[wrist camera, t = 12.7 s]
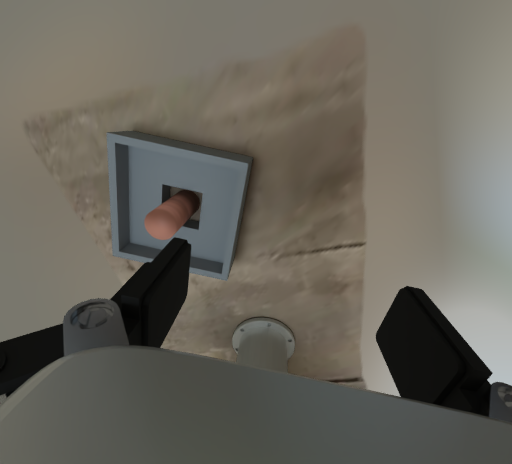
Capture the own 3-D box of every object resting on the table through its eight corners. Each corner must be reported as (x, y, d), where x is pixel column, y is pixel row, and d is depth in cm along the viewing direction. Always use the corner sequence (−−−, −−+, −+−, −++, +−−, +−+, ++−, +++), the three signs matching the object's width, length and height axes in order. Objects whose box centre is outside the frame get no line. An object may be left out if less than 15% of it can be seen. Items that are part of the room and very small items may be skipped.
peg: (198, 215, 41) (174, 243, 32) (174, 210, 41) (144, 236, 32) (200, 192, 39) (176, 214, 30) (175, 187, 39) (144, 207, 30)
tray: (233, 260, 44) (227, 280, 38) (133, 238, 44) (112, 255, 38) (253, 157, 36) (248, 163, 31) (132, 130, 36) (106, 132, 31)
